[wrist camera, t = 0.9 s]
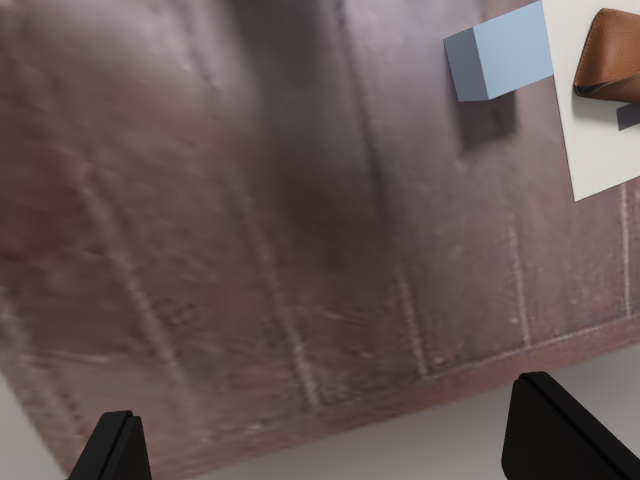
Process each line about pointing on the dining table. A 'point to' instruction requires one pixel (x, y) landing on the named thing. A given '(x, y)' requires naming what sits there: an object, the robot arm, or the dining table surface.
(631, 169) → the letter mat
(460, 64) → the blue cube
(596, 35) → the sunglasses case
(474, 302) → the dining table surface
